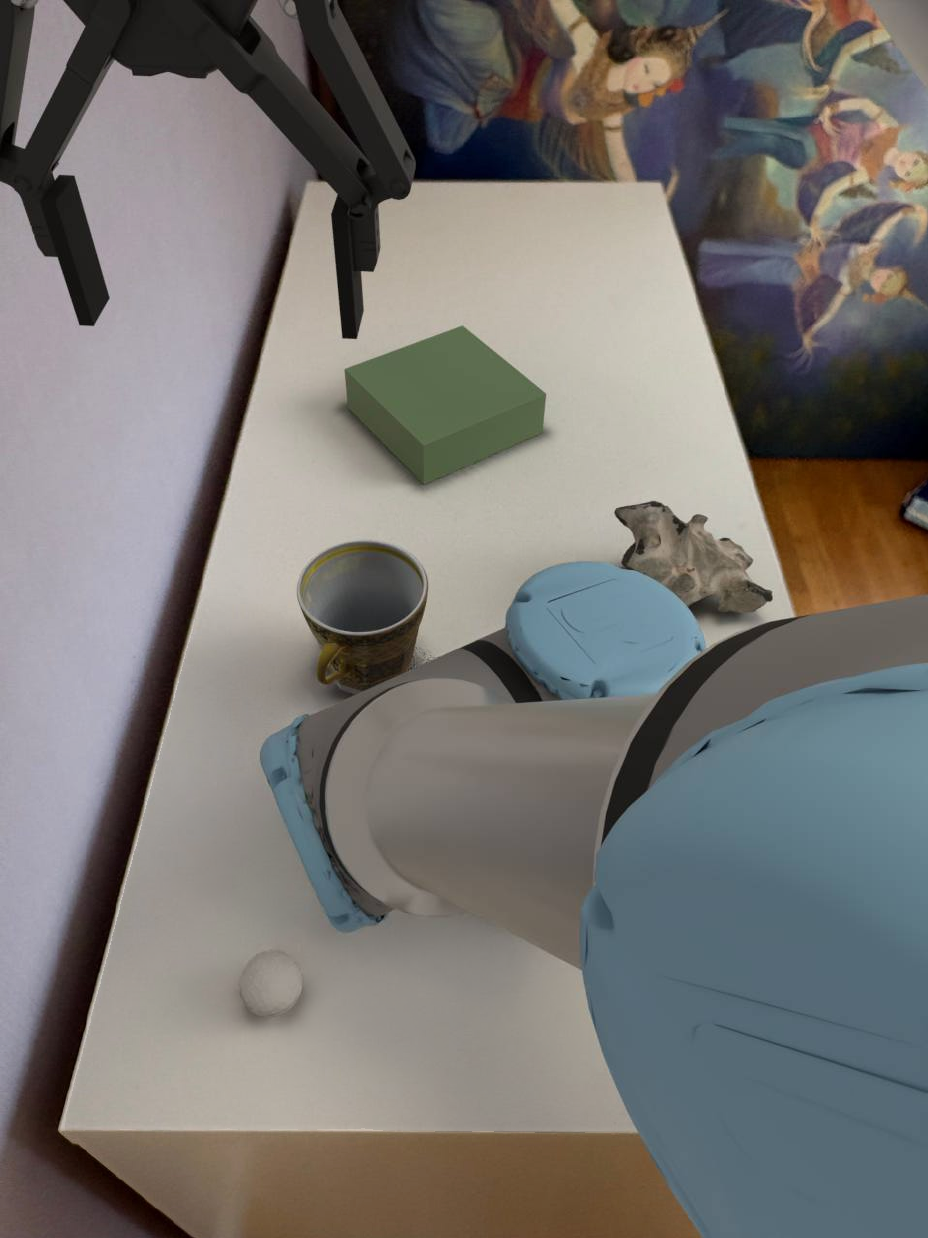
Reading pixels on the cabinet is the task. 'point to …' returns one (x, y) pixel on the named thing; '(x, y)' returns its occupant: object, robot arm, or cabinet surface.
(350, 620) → the ceramic cup
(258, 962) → the golf ball
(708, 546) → the decorative stone
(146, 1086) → the cabinet surface
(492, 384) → the green block
